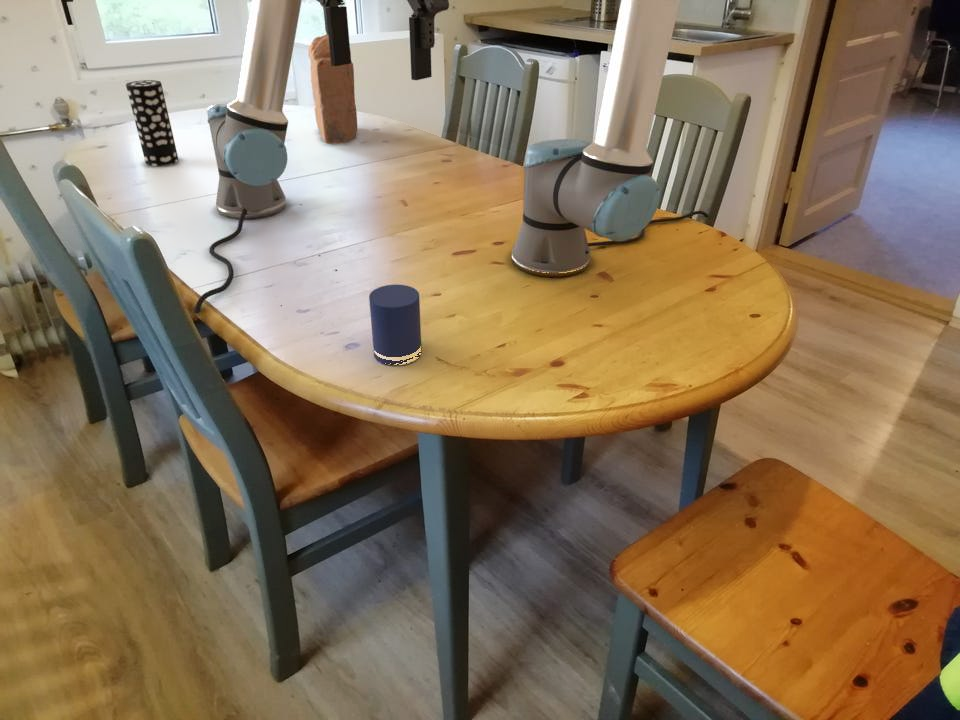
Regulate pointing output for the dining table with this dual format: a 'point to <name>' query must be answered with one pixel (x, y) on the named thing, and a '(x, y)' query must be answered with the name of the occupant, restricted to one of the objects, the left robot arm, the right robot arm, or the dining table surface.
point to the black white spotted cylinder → (152, 122)
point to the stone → (332, 94)
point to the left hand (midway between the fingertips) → (24, 26)
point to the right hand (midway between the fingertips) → (379, 71)
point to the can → (395, 322)
